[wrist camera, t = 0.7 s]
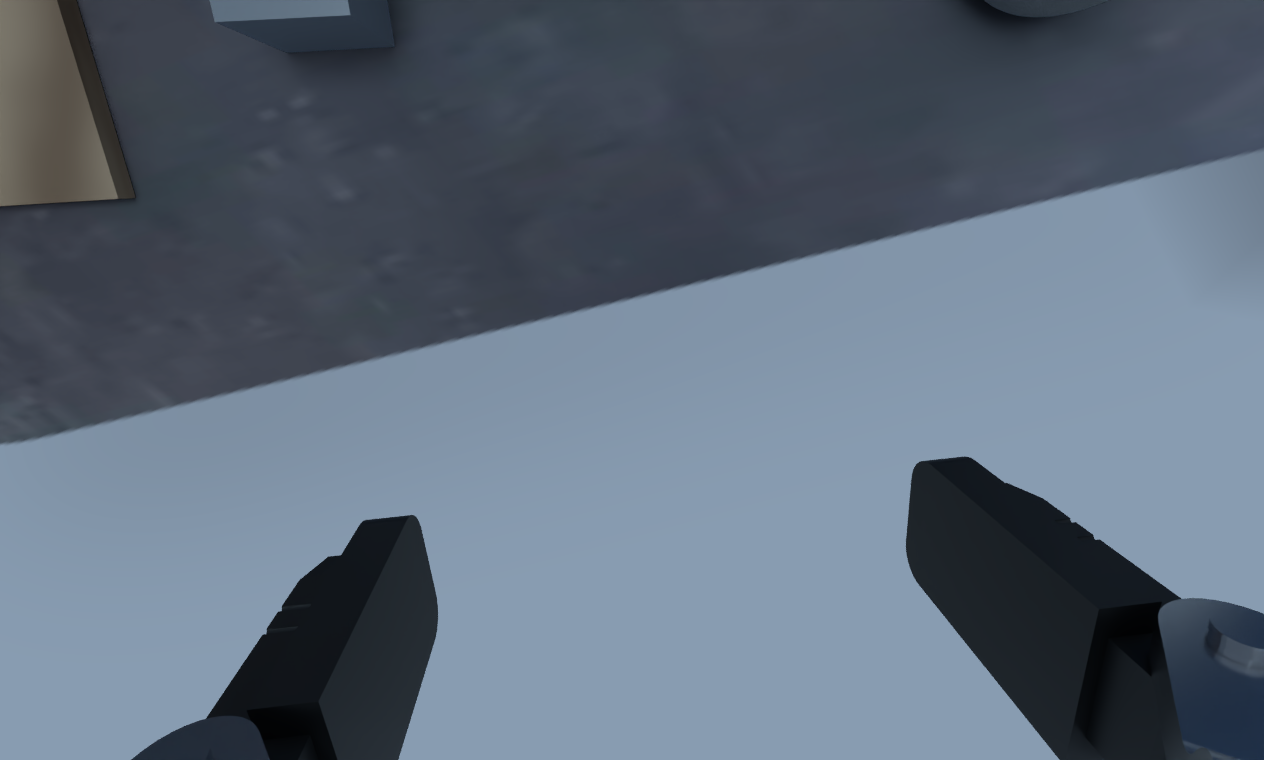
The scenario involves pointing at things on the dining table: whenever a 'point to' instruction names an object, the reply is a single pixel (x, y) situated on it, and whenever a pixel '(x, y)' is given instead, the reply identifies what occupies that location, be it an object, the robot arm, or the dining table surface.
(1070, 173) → the dining table surface
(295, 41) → the grey rectangular block
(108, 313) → the dining table surface
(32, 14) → the tray
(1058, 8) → the smart speaker
